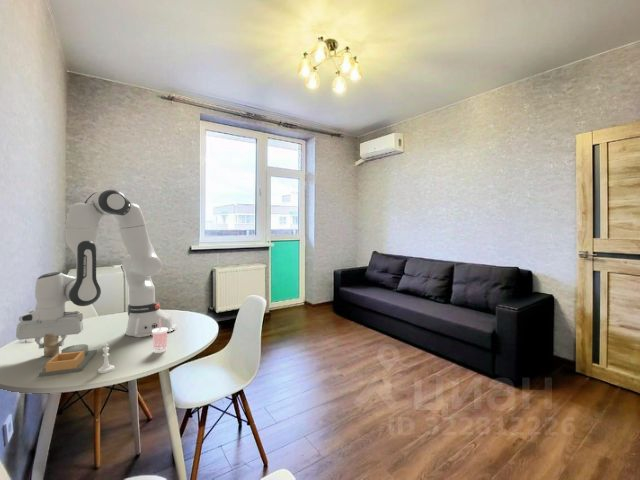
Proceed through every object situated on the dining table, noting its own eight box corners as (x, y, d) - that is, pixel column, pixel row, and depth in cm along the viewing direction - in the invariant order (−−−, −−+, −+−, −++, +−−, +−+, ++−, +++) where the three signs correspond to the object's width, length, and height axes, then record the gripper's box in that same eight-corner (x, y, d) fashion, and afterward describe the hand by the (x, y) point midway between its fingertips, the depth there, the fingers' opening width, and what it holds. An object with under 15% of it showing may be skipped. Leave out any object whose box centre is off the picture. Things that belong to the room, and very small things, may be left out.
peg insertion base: (96, 352, 121) (96, 342, 121) (81, 370, 105) (81, 359, 105) (60, 356, 116) (60, 346, 116) (38, 376, 100) (38, 365, 100)
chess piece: (103, 367, 108) (103, 340, 108) (117, 366, 108) (117, 340, 108) (94, 373, 103) (94, 345, 103) (109, 373, 104) (108, 345, 103)
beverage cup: (165, 353, 121) (165, 319, 120) (149, 354, 120) (149, 320, 119) (170, 347, 127) (170, 315, 126) (155, 348, 126) (155, 316, 125)
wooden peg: (61, 351, 121) (60, 330, 120) (56, 355, 117) (55, 333, 116) (47, 353, 119) (46, 331, 119) (41, 357, 115) (41, 335, 115)
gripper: (85, 308, 124) (85, 340, 125) (22, 313, 116) (23, 347, 117) (79, 312, 118) (80, 346, 119) (13, 317, 110) (13, 353, 111)
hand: (51, 346), depth 118 cm, fingers closed on wooden peg, 4 cm apart
